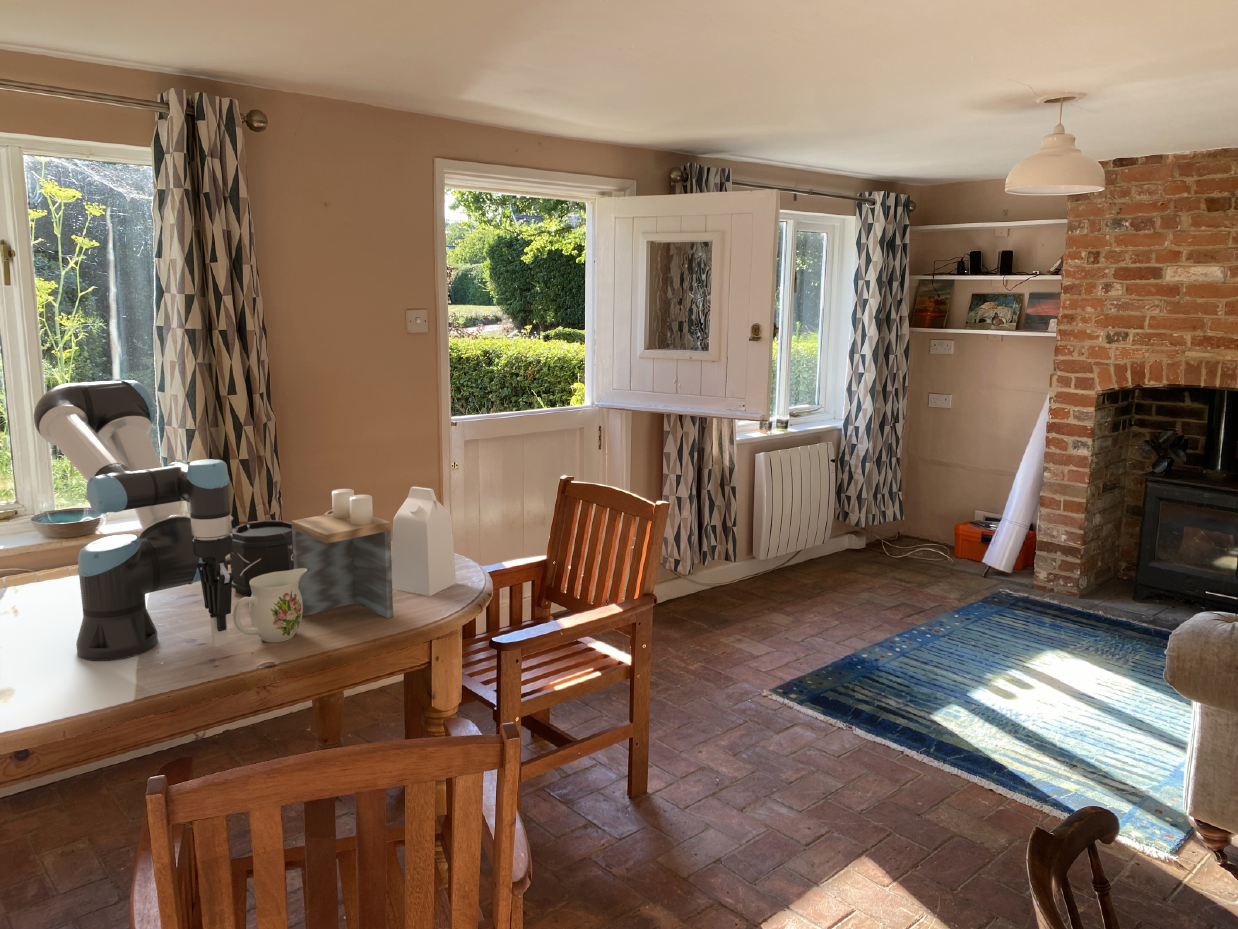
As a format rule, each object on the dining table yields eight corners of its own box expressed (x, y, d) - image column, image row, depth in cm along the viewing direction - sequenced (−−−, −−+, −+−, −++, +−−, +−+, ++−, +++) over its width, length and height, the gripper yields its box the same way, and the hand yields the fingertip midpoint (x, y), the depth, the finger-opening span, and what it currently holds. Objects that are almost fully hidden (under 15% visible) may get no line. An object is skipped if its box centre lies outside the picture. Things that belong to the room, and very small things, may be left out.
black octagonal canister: (230, 580, 238) (226, 521, 235) (302, 573, 244) (299, 516, 241) (227, 602, 221) (222, 540, 218) (304, 595, 228) (301, 534, 224)
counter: (330, 634, 203) (326, 534, 198) (296, 615, 213) (291, 520, 209) (393, 616, 214) (390, 522, 209) (357, 599, 225) (354, 509, 220)
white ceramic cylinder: (339, 519, 211) (338, 494, 209) (328, 515, 214) (327, 490, 213) (358, 516, 214) (358, 491, 213) (348, 512, 218) (347, 487, 216)
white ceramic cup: (357, 526, 205) (356, 500, 204) (346, 522, 209) (345, 496, 207) (377, 522, 209) (376, 497, 208) (365, 518, 212) (364, 493, 211)
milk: (456, 583, 239) (454, 486, 234) (429, 596, 229) (427, 495, 223) (418, 576, 244) (416, 481, 239) (391, 588, 233) (388, 490, 228)
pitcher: (221, 644, 196) (217, 583, 193) (294, 620, 210) (291, 563, 208) (251, 657, 190) (247, 594, 187) (324, 631, 204) (321, 573, 201)
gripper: (243, 538, 185) (251, 647, 189) (218, 526, 194) (225, 631, 198) (206, 545, 180) (214, 657, 184) (181, 532, 189) (190, 639, 193)
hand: (220, 643), depth 191 cm, fingers closed
